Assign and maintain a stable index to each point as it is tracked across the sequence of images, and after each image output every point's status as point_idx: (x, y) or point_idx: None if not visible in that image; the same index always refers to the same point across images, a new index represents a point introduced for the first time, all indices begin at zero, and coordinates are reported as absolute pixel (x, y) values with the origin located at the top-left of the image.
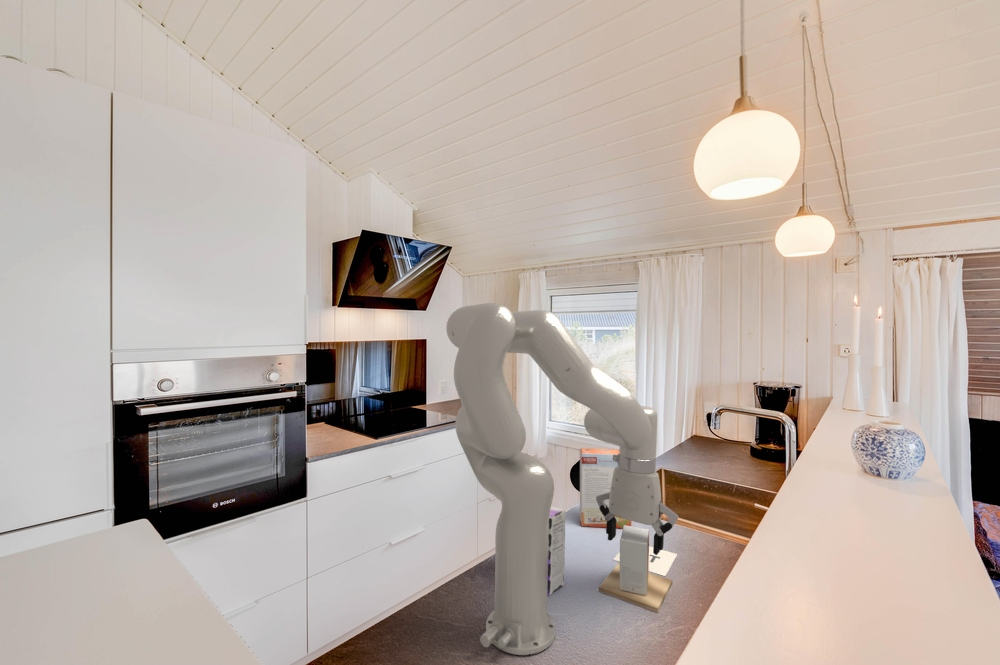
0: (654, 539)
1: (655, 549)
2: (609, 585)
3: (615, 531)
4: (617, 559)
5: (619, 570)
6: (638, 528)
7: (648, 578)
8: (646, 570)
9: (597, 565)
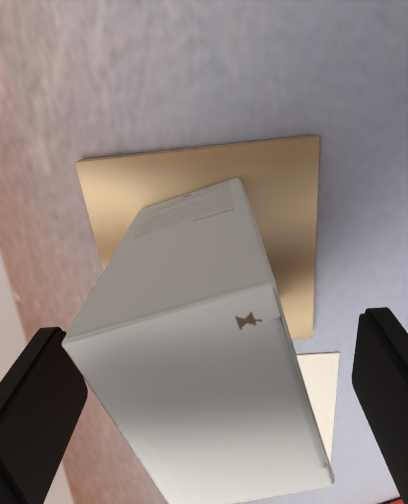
0: (6, 409)
1: (33, 348)
2: (286, 179)
3: (364, 404)
4: (326, 362)
5: (291, 297)
6: (230, 494)
7: None
8: (116, 249)
9: (379, 292)
